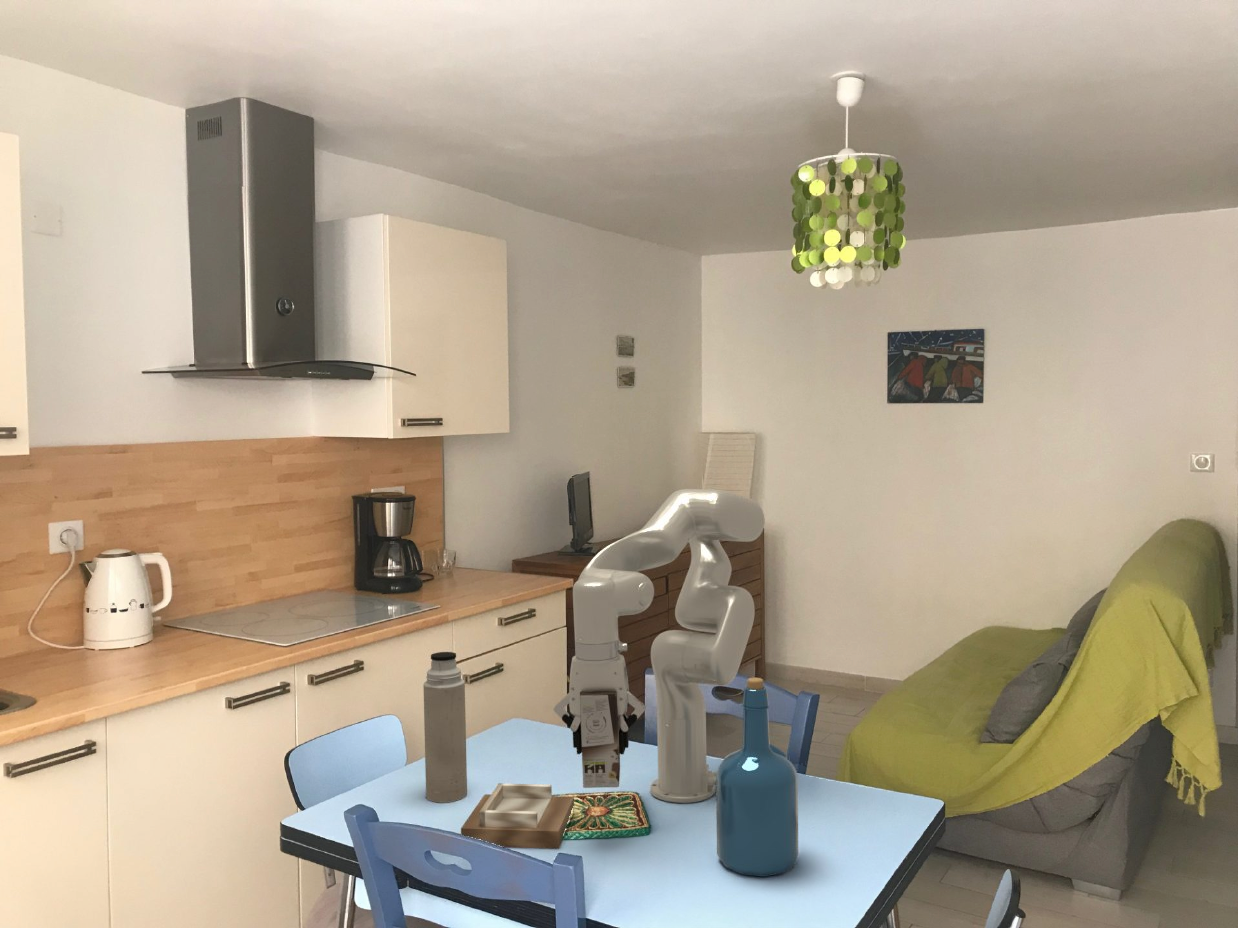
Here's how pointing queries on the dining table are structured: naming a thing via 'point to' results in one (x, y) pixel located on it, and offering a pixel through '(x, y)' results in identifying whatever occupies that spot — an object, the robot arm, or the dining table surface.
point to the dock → (520, 817)
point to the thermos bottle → (445, 730)
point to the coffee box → (600, 739)
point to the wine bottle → (757, 797)
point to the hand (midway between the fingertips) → (601, 750)
